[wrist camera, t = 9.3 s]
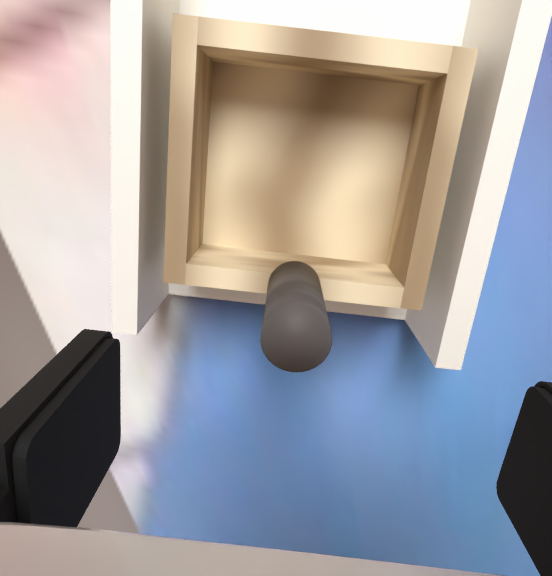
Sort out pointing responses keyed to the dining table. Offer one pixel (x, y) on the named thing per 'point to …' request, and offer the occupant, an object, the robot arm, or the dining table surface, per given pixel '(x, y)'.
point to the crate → (308, 169)
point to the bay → (344, 19)
